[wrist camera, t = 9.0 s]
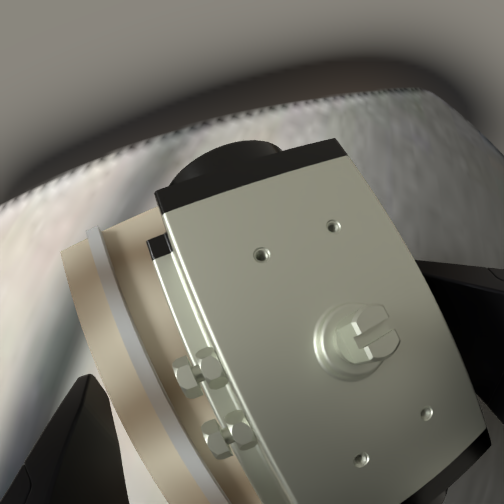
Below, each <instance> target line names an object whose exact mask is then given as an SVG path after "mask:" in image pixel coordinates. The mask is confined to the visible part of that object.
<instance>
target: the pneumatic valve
mask: <svg viewBox="0 0 504 504" xmlns="http://www.w3.org/2000/svg"><path fill="white" fill-rule="evenodd" d="M154 195H155V198H156V201H157V205H158V208H159V211H160V214H161V217H162V220H163V224H164V227H165V230H166V232H165V233H164V234H162V235H159V236H157V237H154V238H151V239H149V240H147V241H146V244H147V247H148V250H149V253H150V256H151V259H152V262H153V265H154V268H155V271H156V273H157V276H158V279H159V282H160V285H161V287H162V290H163V293H164V296H165V298H166V301H167V304H168V306H169V309H170V312H171V314H172V317H173V319H174V322H175V324H176V327H177V329H178V332H179V334H180V337H181V339H182V342H183V344H184V347H185V349H186V351H187V354H188V356H189V359H190V361H191V363H192V365H191V363H190V361H189V359H188V357H187V356H186V355H185V356H183V357H180V358H177V359H176V360H175V361H174V362H173V363H172V367H173V370H174V373H175V376H176V379H177V381H178V383H179V385H180V387H181V389H182V391H183V393H184V395H185V396H186V397H187V398H190V399H195V398H197V397H200V396H202V395H204V394H203V391H202V388H203V390H204V392H205V395H206V397H207V399H208V401H209V403H210V405H211V408H212V410H213V412H214V414H215V416H216V418H217V420H218V422H219V424H220V425H219V424H218V422H217V421H216V419H215V418H214V419H212V420H209V421H207V422H204V424H203V425H202V426H201V430H202V433H203V436H204V438H205V441H206V443H207V445H208V447H209V449H210V451H211V452H212V454H213V456H214V457H215V458H216V459H218V460H222V459H226V458H228V457H231V456H233V453H232V451H231V448H232V450H233V452H234V454H235V456H236V457H237V459H238V461H239V463H240V465H241V467H242V469H243V471H244V472H245V474H246V476H247V478H248V480H249V481H250V483H251V485H252V487H253V488H254V490H255V492H256V494H257V495H258V497H259V499H260V501H261V502H262V504H442V503H443V501H444V499H445V496H446V494H447V490H448V487H450V486H451V485H452V484H453V483H454V482H455V481H456V480H457V479H458V478H459V477H461V476H462V475H463V474H464V473H465V472H466V471H467V470H468V469H469V468H470V467H471V466H472V465H473V464H474V463H475V462H476V461H477V460H478V459H479V458H480V457H481V456H482V455H483V454H484V453H485V452H486V450H487V449H488V448H489V447H490V446H491V440H490V437H489V433H488V430H487V427H486V423H485V420H484V417H483V414H482V411H481V408H480V405H479V402H478V399H477V396H476V394H475V391H474V388H473V385H472V383H471V380H470V377H469V375H468V372H467V370H466V367H465V365H464V362H463V360H462V357H461V355H460V352H459V350H458V348H457V345H456V343H455V341H454V338H453V336H452V334H451V332H450V329H449V327H448V325H447V323H446V321H445V319H444V317H443V314H442V312H441V310H440V308H439V306H438V304H437V302H436V300H435V298H434V296H433V294H432V292H431V290H430V288H429V286H428V284H427V282H426V280H425V278H424V277H423V275H422V273H421V271H420V269H419V267H418V265H417V264H416V262H415V260H414V258H413V256H412V255H411V253H410V251H409V249H408V248H407V246H406V244H405V242H404V241H403V239H402V237H401V236H400V234H399V232H398V231H397V229H396V227H395V226H394V224H393V222H392V221H391V219H390V217H389V216H388V214H387V213H386V211H385V209H384V208H383V206H382V205H381V203H380V202H379V200H378V198H377V197H376V195H375V194H374V192H373V191H372V189H371V188H370V186H369V185H368V183H367V182H366V180H365V179H364V177H363V176H362V175H361V173H360V172H359V170H358V169H357V167H356V166H355V164H354V163H353V162H352V160H351V159H350V157H349V156H348V155H347V153H346V152H345V151H344V149H343V148H342V146H341V145H340V144H339V142H338V141H337V140H336V139H335V138H333V139H328V140H324V141H320V142H316V143H312V144H308V145H304V146H300V147H296V148H292V149H288V150H285V151H282V150H281V149H280V148H279V147H277V146H276V145H274V144H272V143H269V142H265V141H257V140H250V141H239V142H234V143H230V144H227V145H223V146H220V147H218V148H215V149H213V150H211V151H209V152H207V153H205V154H203V155H202V156H200V157H198V158H197V159H195V160H194V161H192V162H191V163H190V164H188V165H187V166H186V167H185V168H183V169H182V170H181V171H180V172H179V173H178V174H177V176H176V177H175V178H174V179H173V180H172V182H171V183H170V185H169V186H168V187H165V188H162V189H160V190H157V191H156V192H155V193H154ZM192 366H193V367H192ZM200 384H201V385H200ZM201 386H202V388H201ZM220 426H221V427H220ZM221 428H222V429H221ZM229 444H230V446H231V448H230V446H229Z"/></svg>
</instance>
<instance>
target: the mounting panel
mask: <svg viewBox="0 0 504 504" xmlns="http://www.w3.org/2000/svg"><path fill="white" fill-rule="evenodd" d="M165 232H166V230H165V227H164V224H163V220H162V217H161V214H160V211H159V208H158V207H155V208H153V209H151V210H148V211H146V212H144V213H142V214H139V215H137V216H135V217H132V218H130V219H128V220H126V221H124V222H121V223H119V224H117V225H115V226H113V227H110V228H108V229H106V230H104V231H102V232H101V230H100V229H99V227H98V226H95V227H93V228H91V229H89V230H87V231H86V235H87V239H85V240H83V241H81V242H79V243H77V244H75V245H73V246H71V247H69V248H67V249H65V250H63V251H61V252H60V253H61V257H62V261H63V265H64V269H65V273H66V277H67V280H68V284H69V287H70V291H71V294H72V298H73V301H74V304H75V308H76V311H77V314H78V317H79V320H80V323H81V326H82V329H83V332H84V335H85V338H86V340H87V343H88V346H89V348H90V351H91V354H92V356H93V359H94V362H95V364H96V367H97V369H98V371H99V374H100V376H101V379H102V381H103V383H104V386H105V388H106V390H107V393H108V395H109V397H110V399H111V401H112V403H113V406H114V408H115V410H116V412H117V414H118V416H119V418H120V420H121V422H122V424H123V426H124V428H125V430H126V432H127V434H128V436H129V438H130V440H131V442H132V443H133V445H134V447H135V449H136V451H137V452H138V454H139V456H140V458H141V460H142V461H143V463H144V465H145V466H146V468H147V470H148V471H149V473H150V475H151V476H152V478H153V480H154V481H155V483H156V484H157V486H158V488H159V489H160V491H161V492H162V494H163V495H164V497H165V498H166V500H167V501H168V503H169V504H262V502H261V501H260V499H259V497H258V495H257V494H256V492H255V490H254V488H253V487H252V485H251V483H250V481H249V480H248V478H247V476H246V474H245V472H244V471H243V469H242V467H241V465H240V463H239V461H238V459H237V457H236V456H235V454H234V452H233V450H232V448H231V446H230V444H229V446H230V448H231V451H232V453H233V456H231V457H228V458H226V459H222V460H218V459H216V458H215V457H214V456H213V454H212V452H211V451H210V449H209V447H208V445H207V443H206V441H205V438H204V436H203V433H202V430H201V426H202V425H203V424H204V422H207V421H209V420H212V419H214V418H215V419H216V421H217V422H218V420H217V418H216V416H215V414H214V412H213V410H212V408H211V405H210V403H209V401H208V399H207V397H206V395H205V392H204V390H203V388H202V386H201V388H202V391H203V394H204V395H202V396H200V397H197V398H195V399H190V398H187V397H186V396H185V395H184V393H183V391H182V389H181V387H180V385H179V383H178V381H177V379H176V376H175V373H174V370H173V367H172V363H173V362H174V361H175V360H176V359H177V358H180V357H183V356H185V355H186V356H187V357H188V359H189V356H188V354H187V351H186V349H185V347H184V344H183V342H182V339H181V337H180V334H179V332H178V329H177V327H176V324H175V322H174V319H173V317H172V314H171V312H170V309H169V306H168V304H167V301H166V298H165V296H164V293H163V290H162V287H161V285H160V282H159V279H158V276H157V273H156V271H155V268H154V265H153V262H152V259H151V256H150V253H149V250H148V247H147V244H146V241H147V240H149V239H151V238H154V237H157V236H159V235H162V234H164V233H165ZM189 361H190V359H189ZM190 363H191V361H190ZM191 365H192V363H191ZM192 367H193V366H192ZM200 385H201V384H200ZM218 424H219V422H218ZM219 425H220V424H219ZM220 427H221V426H220ZM221 429H222V428H221Z"/></svg>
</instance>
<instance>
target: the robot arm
mask: <svg viewBox="0 0 504 504" xmlns="http://www.w3.org/2000/svg"><path fill="white" fill-rule="evenodd" d="M415 262H416V264H417V265H418V267H419V269H420V271H421V273H422V275H423V277H424V278H425V280H426V282H427V284H428V286H429V288H430V290H431V292H432V294H433V296H434V298H435V300H436V302H437V304H438V306H439V308H440V310H441V312H442V314H443V317H444V319H445V321H446V323H447V325H448V327H449V329H450V332H451V334H452V336H453V338H454V341H455V343H456V345H457V348H458V350H459V352H460V355H461V357H462V360H463V362H464V365H465V367H466V370H467V372H468V375H469V377H470V380H471V383H472V385H473V388H474V391H475V393H476V394H477V395H478V396H479V397H480V398H481V399H482V401H483V402H484V403H485V404H486V405H487V406H488V407H489V408H490V410H491V411H492V412H493V413H494V414H495V415H496V416H497V417H498V418H499V420H500V421H501V422H502V423H503V424H504V269H495V268H485V267H476V266H467V265H458V264H449V263H439V262H430V261H420V260H415ZM24 464H25V465H24ZM24 464H23V465H22V467H21V468H20V470H19V472H18V474H17V475H16V477H15V479H14V480H13V482H12V484H11V485H10V487H9V489H8V490H7V492H6V493H5V495H4V496H3V498H2V499H1V501H0V504H129V500H128V495H127V490H126V484H125V479H124V473H123V467H122V460H121V453H120V447H119V442H118V438H117V433H116V429H115V425H114V421H113V416H112V412H111V407H110V402H109V398H108V396H107V394H106V392H105V391H104V389H103V388H102V387H101V385H100V384H99V382H98V381H97V379H96V378H95V377H94V376H93V375H92V374H87V375H84V376H81V377H79V378H78V379H77V380H76V382H75V383H74V385H73V386H72V388H71V389H70V391H69V392H68V394H67V395H66V397H65V398H64V400H63V401H62V403H61V404H60V406H59V407H58V409H57V410H56V412H55V413H54V415H53V416H52V418H51V420H50V421H49V423H48V424H47V426H46V427H45V429H44V431H43V432H42V434H41V435H40V437H39V439H38V440H37V442H36V443H35V445H34V447H33V448H32V450H31V452H30V453H29V455H28V457H27V458H26V460H25V462H24Z"/></svg>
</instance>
